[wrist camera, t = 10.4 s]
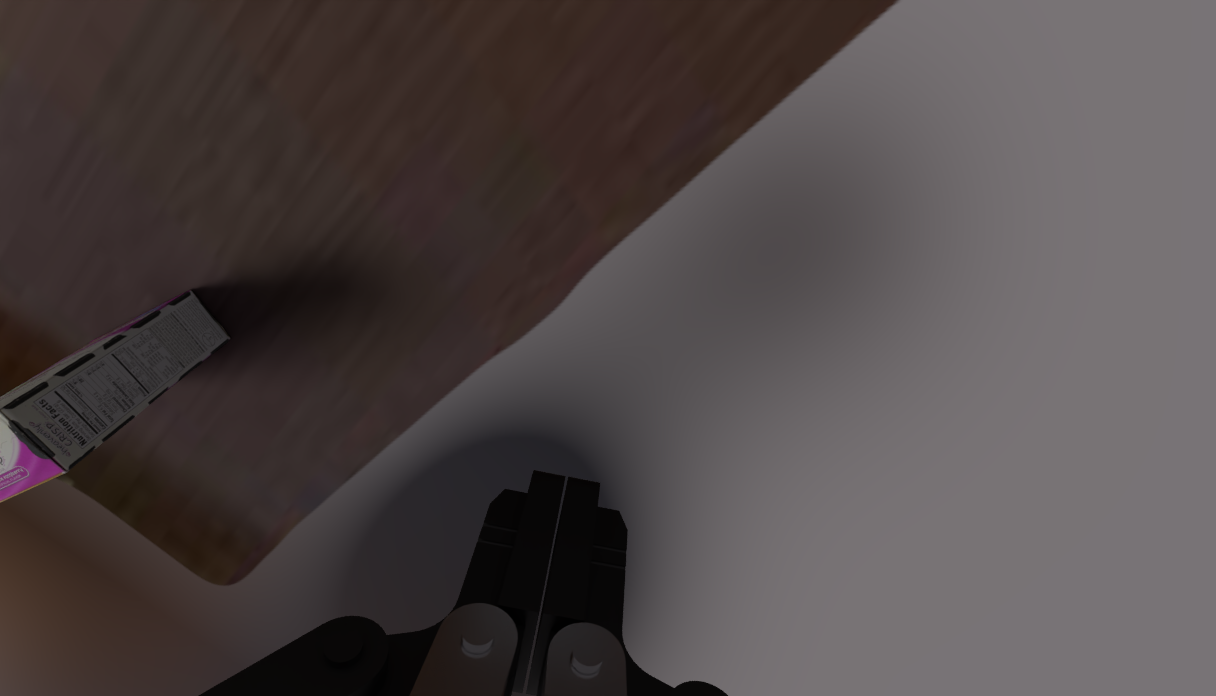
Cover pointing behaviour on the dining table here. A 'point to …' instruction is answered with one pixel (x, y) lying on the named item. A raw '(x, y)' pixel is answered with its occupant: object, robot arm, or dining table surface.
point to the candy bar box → (99, 390)
